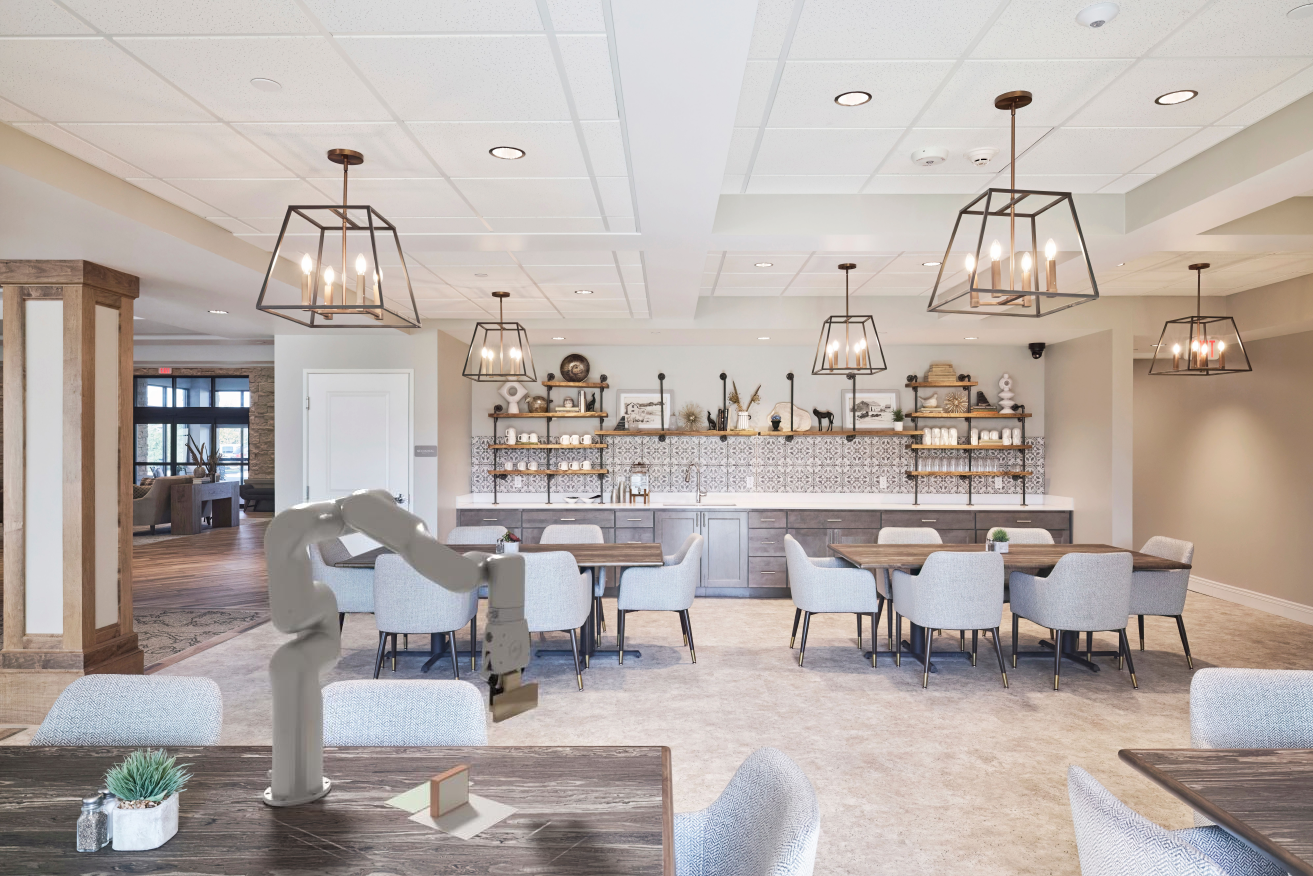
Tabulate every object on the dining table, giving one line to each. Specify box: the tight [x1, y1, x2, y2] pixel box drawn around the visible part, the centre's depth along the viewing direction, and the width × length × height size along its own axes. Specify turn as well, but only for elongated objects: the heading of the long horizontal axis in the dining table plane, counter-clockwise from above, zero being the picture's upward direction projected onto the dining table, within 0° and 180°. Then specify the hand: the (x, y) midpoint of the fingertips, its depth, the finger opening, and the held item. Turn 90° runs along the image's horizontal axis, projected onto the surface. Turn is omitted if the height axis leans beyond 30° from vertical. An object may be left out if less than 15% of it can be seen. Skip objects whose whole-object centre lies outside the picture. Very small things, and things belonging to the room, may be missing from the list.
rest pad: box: [383, 780, 475, 815], centre depth 154 cm, size 9×16×1 cm, turn 148°
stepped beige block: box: [488, 670, 539, 724], centre depth 155 cm, size 6×12×8 cm, turn 148°
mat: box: [406, 792, 521, 841], centre depth 145 cm, size 16×14×1 cm
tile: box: [429, 764, 470, 818], centre depth 147 cm, size 2×8×7 cm, turn 148°
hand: (504, 702), depth 155 cm, fingers closed on stepped beige block, 4 cm apart
